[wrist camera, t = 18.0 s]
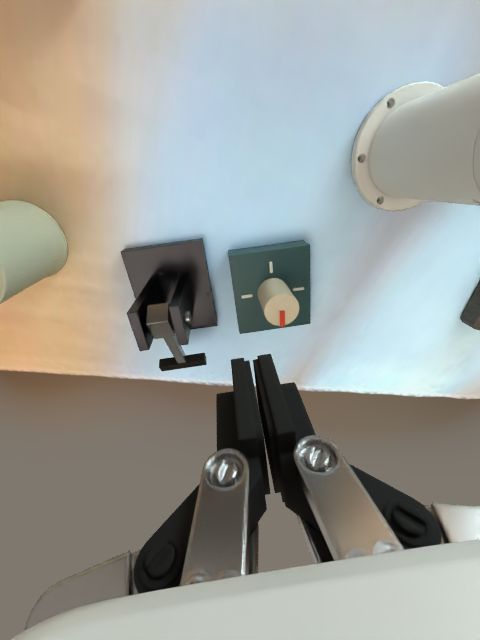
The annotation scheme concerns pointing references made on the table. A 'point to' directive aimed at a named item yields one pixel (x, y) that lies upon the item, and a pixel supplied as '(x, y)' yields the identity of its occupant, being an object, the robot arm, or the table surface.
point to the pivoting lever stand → (170, 287)
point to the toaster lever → (170, 339)
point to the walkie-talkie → (473, 310)
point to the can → (28, 247)
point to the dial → (277, 302)
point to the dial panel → (265, 264)
